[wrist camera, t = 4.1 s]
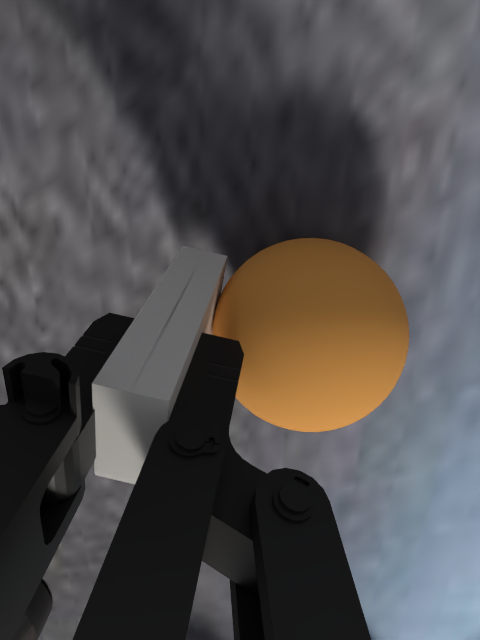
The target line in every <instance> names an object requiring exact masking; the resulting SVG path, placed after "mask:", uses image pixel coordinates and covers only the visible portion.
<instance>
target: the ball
mask: <svg viewBox="0 0 480 640" xmlns="http://www.w3.org/2000/svg"><path fill="white" fill-rule="evenodd" d="M212 335H215V336H220V337H224V338H229V339H233V340H237V341H239V342H240V345H241V348H242V350H243V353H244V358H243V363H242V368H241V372H240V377H239V382H238V387H237V391H236V396H235V397H236V398H237V399H238V400H239V401H240V402H241V403H242V405H243V406H245V407H246V408H247V409H248V410H249V411H251V412H252V413H253V414H255V415H256V416H258V417H260V418H261V419H263V420H264V421H267V422H269V423H271V424H274V425H276V426H279V427H282V428H286V429H289V430H295V431H301V432H321V431H329V430H333V429H337V428H341V427H344V426H347V425H349V424H351V423H354V422H356V421H358V420H359V419H361V418H363V417H365V416H366V415H368V414H369V413H370V412H372V411H373V410H374V409H375V408H377V407H378V406H379V405H380V404H381V403H382V402H383V401H384V399H385V398H386V397H387V396H388V395H389V393H390V392H391V391H392V389H393V388H394V386H395V385H396V383H397V381H398V379H399V377H400V375H401V373H402V370H403V367H404V365H405V362H406V357H407V352H408V346H409V326H408V318H407V314H406V309H405V306H404V304H403V301H402V298H401V296H400V294H399V292H398V290H397V288H396V286H395V285H394V283H393V282H392V280H391V279H390V278H389V276H388V275H387V273H386V272H385V271H384V270H383V269H382V268H381V267H380V266H379V265H378V264H377V263H376V262H374V261H373V260H372V259H370V258H369V257H368V256H367V255H365V254H363V253H362V252H360V251H358V250H356V249H355V248H353V247H350V246H348V245H345V244H343V243H340V242H336V241H333V240H329V239H320V238H299V239H293V240H287V241H284V242H280V243H277V244H274V245H272V246H270V247H268V248H266V249H263V250H261V251H260V252H258V253H257V254H255V255H254V256H252V257H251V258H249V259H248V260H247V261H246V262H245V263H244V264H243V265H242V266H241V267H240V268H239V269H238V270H237V271H236V272H235V273H234V274H233V275H232V277H231V278H230V280H229V281H228V283H227V284H226V286H225V288H224V289H223V291H222V293H221V295H220V298H219V300H218V303H217V306H216V310H215V314H214V319H213V327H212Z"/></svg>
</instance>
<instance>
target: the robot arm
mask: <svg viewBox="0 0 480 640" xmlns="http://www.w3.org/2000/svg"><path fill="white" fill-rule="evenodd" d="M226 261H227V256H225V255H221V254H217V253H212V252H208V251H203V250H199V249H194V248H190V247H185V246H182V247H181V249H180V250H179V252H178V254H177V255H176V257H175V258H174V260H173V261H172V263H171V264H170V266H169V267H168V269H167V270H166V272H165V273H164V275H163V276H162V278H161V279H160V281H159V282H158V284H157V285H156V287H155V288H154V290H153V291H152V293H151V295H150V296H149V298H148V299H147V301H146V302H145V304H144V305H143V307H142V308H141V310H140V311H139V313H138V314H137V316H136V317H135V318H130V317H126V316H121V315H117V314H113V313H108V314H107V315H105V316H103V317H101V318H99V319H97V320H96V321H94V322H93V323H92V324H91V325H90V327H89V328H88V329H87V330H86V331H85V333H84V334H83V337H82V336H81V338H80V339H79V340H78V341H77V343H76V344H75V347H73V348H72V349H71V350H70V351H69V353H68V354H67V355H66V356H62V355H60V354H56V353H46V352H41V353H34V354H27V355H25V356H22V357H19V358H17V359H14V360H12V361H11V362H10V363H8V364H7V365H6V366H4V367H3V368H2V369H3V375H4V380H5V385H6V391H7V396H8V402H7V404H6V405H0V640H37V639H38V638H39V636H40V633H41V631H42V629H43V627H44V625H45V623H46V621H47V618H48V616H49V614H50V612H51V609H52V600H51V597H50V594H49V592H48V591H47V589H46V588H45V586H44V585H43V584H42V582H41V580H42V578H43V576H44V574H45V572H46V570H47V568H48V566H49V564H50V562H51V560H52V558H53V556H54V554H55V552H56V550H57V548H58V546H59V544H60V542H61V540H62V538H63V536H64V534H65V532H66V530H67V528H68V526H69V524H70V522H71V520H72V519H73V517H74V515H75V513H76V511H77V509H78V507H79V505H80V503H81V501H82V498H83V495H84V491H85V477H86V475H87V473H88V471H89V469H90V468H91V466H92V464H93V462H94V469H95V475H97V476H101V477H106V478H110V479H114V480H119V481H123V482H127V483H131V484H135V486H134V488H133V491H132V493H131V496H130V498H129V501H128V503H127V506H126V508H125V511H124V513H123V516H122V518H121V521H120V523H119V526H118V528H117V531H116V533H115V536H114V538H113V541H112V543H111V545H110V548H109V550H108V553H107V555H106V558H105V560H104V563H103V565H102V568H101V570H100V573H99V575H98V578H97V580H96V583H95V585H94V588H93V590H92V593H91V595H90V598H89V600H88V603H87V605H86V608H85V610H84V613H83V615H82V618H81V620H80V623H79V625H78V628H77V630H76V632H75V635H74V637H73V640H185V638H186V633H187V629H188V624H189V619H190V614H191V610H192V605H193V600H194V595H195V590H196V586H197V581H198V576H199V571H200V566H201V562H202V561H203V562H205V563H206V564H208V565H209V566H211V567H212V568H214V569H215V570H217V571H218V572H220V573H221V574H223V575H224V576H226V577H227V578H229V579H230V589H231V603H232V616H233V630H234V640H371V638H370V634H369V631H368V628H367V624H366V621H365V618H364V614H363V611H362V608H361V604H360V601H359V598H358V594H357V591H356V588H355V584H354V581H353V577H352V574H351V571H350V567H349V564H348V561H347V557H346V554H345V551H344V547H343V544H342V541H341V537H340V534H339V531H338V527H337V524H336V521H335V517H334V514H333V511H332V507H331V504H330V501H329V499H328V497H327V495H326V493H325V491H324V489H323V488H322V487H321V486H320V485H319V484H318V483H317V482H316V481H315V480H314V479H313V478H312V477H310V476H308V475H307V474H305V473H303V472H301V471H299V470H294V469H288V468H282V469H276V470H272V471H271V472H269V473H268V474H267V473H265V472H263V471H261V470H259V469H258V468H256V467H254V466H252V465H251V464H249V463H248V462H246V461H245V460H244V459H242V458H241V457H240V455H239V454H238V453H237V452H236V451H235V449H234V448H233V446H232V444H231V442H230V438H229V425H230V420H231V415H232V411H233V406H234V401H235V396H236V391H237V387H238V382H239V377H240V372H241V368H242V363H243V358H244V353H243V350H242V348H241V345H240V342H239V341H237V340H233V339H229V338H224V337H220V336H215V335H212V327H213V319H214V314H215V310H216V306H217V303H218V300H219V298H220V295H221V289H222V284H223V278H224V272H225V266H226Z"/></svg>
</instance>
